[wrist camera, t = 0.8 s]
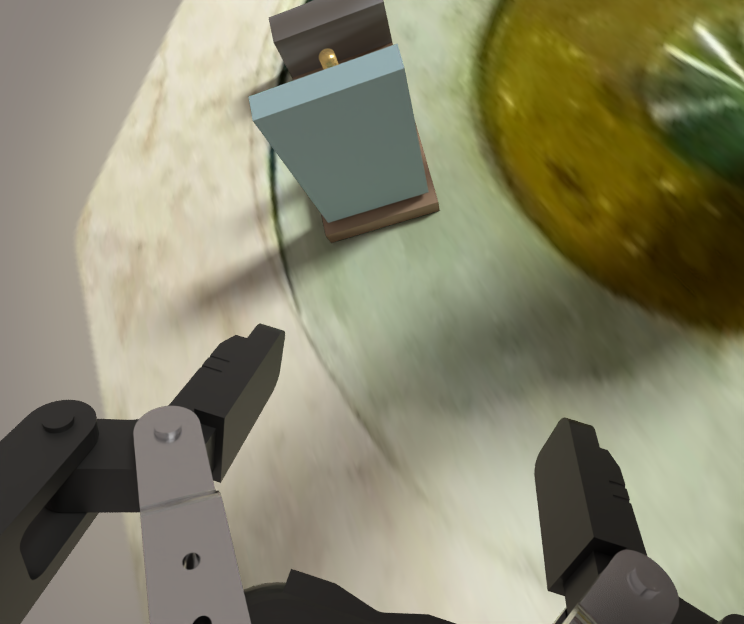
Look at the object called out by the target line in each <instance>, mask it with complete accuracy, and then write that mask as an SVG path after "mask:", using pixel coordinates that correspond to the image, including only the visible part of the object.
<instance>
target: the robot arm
mask: <svg viewBox="0 0 744 624" xmlns="http://www.w3.org/2000/svg"><path fill="white" fill-rule="evenodd" d="M284 340H285V331H283V330H280V329H276V328H273V327H270V326H267V325H263V324H258V325H257V326H256V327H255V329H254V330H253V331H252V333H251V334H250V335H249V337H248V338H244V337H241V336H238V335H235V336H233V337H231V338H229V339H227V340H225V341H224V342H222V343H220V344H219V345H218V347H217V348H216V349H215V350H214V351H213V353H212V354H211V355H210V358H208V359H207V360H206V361H205V362H204V364H203V365H202V367H201V368H199V370H198V371H197V372H196V373H195V374H194V376H193V377H192V378H191V379H190V380H189V382H188V383H187V384H186V385H185V386H184V388H183V389H182V390H181V391H180V393H179V394H178V395H177V396H176V397H175V399H174V400H173V401H172V402H171V403H170V404H169V405H168V406H163V407H159V408H156V409H153V410H151V411H149V412H147V413H146V414H144V415H143V416H142V417H141V418H140V419H136V420H115V419H97V417H96V413H95V411H94V409H93V408H92V407H91V406H89V405H88V404H86V403H84V402H81V401H76V400H61V401H55V402H51V403H49V404H46V405H43V406H41V407H39V408H37V409H36V410H34V411H33V412H31V413H30V414H29V415H28V416H27V417H26V418H25V419H24V420H22V422H20V423H19V424H18V425H17V426H16V427H15V428H14V429H13V430H12V431H11V432H10V433H9V434H8V435H7V436H6V437H5V438H3V439H2V440H1V441H0V624H20V623H21V622H22V621H23V619H24V618H25V616H26V615H27V614H28V612H29V611H30V609H31V608H32V606H33V605H34V604H35V602H36V601H37V599H38V598H39V597H40V595H41V594H42V592H43V591H44V590H45V588H46V587H47V585H48V584H49V582H50V581H51V580H52V578H53V577H54V575H55V574H56V573H57V571H58V570H59V568H60V567H61V565H62V564H63V563H64V561H65V560H66V558H67V557H68V556H69V554H70V553H71V551H72V550H73V549H74V547H75V546H76V544H77V543H78V542H79V540H80V539H81V537H82V536H83V534H84V533H85V531H86V530H87V529H88V527H89V526H90V525H91V523H92V522H93V520H94V519H95V518H96V516H97V515H98V513H99V512H140V516H141V528H142V539H143V551H144V562H145V573H146V585H147V596H148V607H149V619H150V624H455V623H452V622H449V621H446V620H443V619H440V618H437V617H434V616H431V615H428V614H403V613H383V612H379V611H376V610H375V609H373V608H372V607H370V606H369V605H367V604H366V603H364V602H362V601H361V600H359V599H358V598H356V597H355V596H353V595H352V594H350V593H349V592H347V591H346V590H344V589H343V588H341V587H340V586H338V585H337V584H335V583H332V582H329V581H326V580H323V579H320V578H317V577H314V576H311V575H308V574H305V573H302V572H299V571H296V570H293V569H291V571H290V573H289V576H288V579H287V582H286V583H283V582H275V583H265V584H261V585H256V586H253V587H250V588H247V589H245V590H243V587H242V582H241V578H240V574H239V569H238V565H237V561H236V556H235V552H234V548H233V543H232V539H231V535H230V530H229V526H228V522H227V518H226V513H225V509H224V505H223V501H222V497H221V494H220V492H219V491H216V490H215V487H214V483H213V480H214V481H217V482H220V483H221V481H222V480H223V478H224V476H225V474H226V473H227V471H228V469H229V467H230V466H231V464H232V462H233V460H234V459H235V457H236V455H237V453H238V452H239V450H240V448H241V446H242V445H243V443H244V441H245V440H246V438H247V436H248V434H249V433H250V431H251V429H252V427H253V426H254V424H255V422H256V420H257V419H258V417H259V415H260V413H261V412H262V410H263V408H264V406H265V405H266V403H267V401H268V399H269V398H270V396H271V394H272V392H273V390H274V388H275V386H276V383H277V380H278V377H279V373H280V367H281V360H282V353H283V347H284ZM534 474H535V484H536V493H537V501H538V510H539V519H540V527H541V536H542V545H543V554H544V562H545V571H546V580H547V589H548V591H550V592H553V593H556V594H559V595H563V596H565V600H566V608H565V609H564V610H563V611H562V612H561V613H560V615H559V616H558V617H557V619H556V620H555V621H554V623H553V624H744V616H742V615H738V614H730V615H728V616H726V617H724V618H723V619H722V620H720V621H719V622H718V621H717V620H715V619H713V618H712V617H710V616H709V615H707V614H705V613H704V612H702V611H700V610H699V609H697V608H696V607H694V606H692V605H691V604H689V603H687V602H686V601H684V600H683V599H681V598H680V597H679V596H678V593H677V590H676V588H675V586H674V584H673V582H672V580H671V579H670V577H669V576H668V575H667V573H666V572H665V571H664V570H663V569H662V568H661V567H660V566H659V565H658V564H657V563H656V562H654V561H653V560H652V559H651V558H649V557H647V554H646V550H645V547H644V544H643V541H642V537H641V534H640V531H639V528H638V524H637V521H636V518H635V515H634V512H633V508H632V505H631V503H629V500H630V499H629V495H628V492H627V489H625V482H624V479H623V476H622V473H621V470H620V467H619V466H618V464H617V463H616V461H615V460H614V459H613V457H612V456H611V454H610V453H609V451H608V450H605V449H602V448H600V447H599V443H598V439H597V436H596V432H595V429H594V428H593V426H591V425H588V424H584V423H581V422H578V421H575V420H571V419H568V418H562V419H561V420H560V421H559V422H558V424H557V426H556V427H555V429H554V430H553V432H552V433H551V435H550V437H549V438H548V440H547V441H546V443H545V445H544V446H543V448H542V449H541V451H540V453H539V455H538V457H537V460H536V464H535V473H534Z"/></svg>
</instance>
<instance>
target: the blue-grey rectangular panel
mask: <svg viewBox="0 0 744 624" xmlns="http://www.w3.org/2000/svg"><path fill="white" fill-rule="evenodd" d="M249 102H250V108H251V113H252V119H253V122H254V123H255V124H256V126H257V127H258V128H259V130H260V131H261V133H262V134H263V135H264V137H265V138H266V139H267V141H268V142H269V143H270V145H271V146H272V147H273V149H274V150H275V152H276V153H277V154H278V156H279V157H280V158H281V160H282V161H283V162H284V164H285V165H286V166H287V168H288V169H289V171H290V172H291V173H292V175H293V176H294V177H295V179H296V180H297V181H298V183H299V184H300V185H301V187H302V188H303V190H304V191H305V192H306V194H307V195H308V196H309V198H310V199H311V200H312V202H313V203H314V204H315V206H316V207H317V209H318V210H319V211H320V213H321V214H322V215H323V217H324V218H325V219H326V221H327V222H328V223H330V222H333V221H336V220H340V219H343V218H346V217H349V216H353V215H356V214H359V213H362V212H366V211H369V210H372V209H376V208H379V207H382V206H385V205H389V204H392V203H395V202H398V201H402V200H405V199H408V198H412V197H415V196H418V195H421V194H425V193H428V192H429V191H428V186H427V181H426V176H425V171H424V166H423V161H422V155H421V150H420V145H419V140H418V135H417V130H416V125H415V120H414V115H413V109H412V104H411V99H410V94H409V89H408V84H407V79H406V74H405V69H404V65H403V61H402V58H401V55H400V51H399V48H398V44H395V45H392V46H389V47H386V48H384V49H381V50H378V51H375V52H372V53H370V54H367V55H364V56H361V57H358V58H356V59H353V60H350V61H347V62H344V63H341V64H339V65H336V66H333V67H330V68H327V69H325V70H322V71H319V72H316V73H313V74H311V75H308V76H305V77H302V78H299V79H297V80H294V81H291V82H288V83H285V84H283V85H280V86H277V87H274V88H271V89H269V90H266V91H263V92H260V93H257V94H255V95H252V96H249Z"/></svg>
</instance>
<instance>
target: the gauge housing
mask: <svg viewBox="0 0 744 624" xmlns="http://www.w3.org/2000/svg"><path fill="white" fill-rule="evenodd" d="M269 22H270V27H271V32H272V37H273V41H274V44H275V46H276V48H277V50H278V52H279V53H280V55H281V57H282V59H283V61H284V63H285V65H286V67H287V69H288V70H289V72H290V74H291V76H292V78H293V81H294V80H297V79H299V78H302V77H305V76H308V75H311V74H313V73H316V72H319V71H322V70H324V69H323V67H322V65H321V62H320V60H319V54H320V52H321V51H322V50H324V49H327V48H329V49H332V50H333V51H334V53H335V56H336V58H337V61H338V64H341V63H344V62H347V61H350V60H353V59H356V58H358V57H361V56H364V55H367V54H370V53H372V52H375V51H378V50H381V49H384V48H386V47H389V46H392V45H393V43H392V39H391V34H390V29H389V25H388V20H387V15H386V11H385V6H384V1H383V0H314V1H311V2H309V3H306V4H303V5H301V6H298V7H296V8H293V9H290V10H288V11H285V12H282V13H280V14H277V15H275V16H272V17H269ZM415 125H416V123H415ZM416 130H417V126H416ZM417 135H418V140H419V145H420V150H421V155H422V161H423V166H424V171H425V176H426V181H427V186H428V191H429V192H428V193H425V194H421V195H418V196H415V197H412V198H408V199H405V200H402V201H398V202H395V203H392V204H389V205H385V206H382V207H379V208H376V209H372V210H369V211H366V212H362V213H359V214H356V215H353V216H349V217H346V218H343V219H340V220H336V221H333V222H330V223H328V222H327V221H326V219H325V218H324V217H323V215H322V214H321V216H322V220H323V225H324V230H325V234H326V237H327V238H328V239H329V241H330V242H331V243H333V242H336V241H339V240H343V239H346V238H349V237H353V236H356V235H359V234H363V233H366V232H369V231H373V230H376V229H379V228H383V227H386V226H389V225H393V224H396V223H400V222H403V221H406V220H410V219H413V218H416V217H420V216H423V215H426V214H430V213H433V212H436V211H440V210H439V204H438V200H437V196H436V193H435V189H434V186H433V182H432V179H431V175H430V172H429V168H428V165H427V161H426V158H425V154H424V151H423V147H422V144H421V140H420V137H419V133H418V130H417Z"/></svg>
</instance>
